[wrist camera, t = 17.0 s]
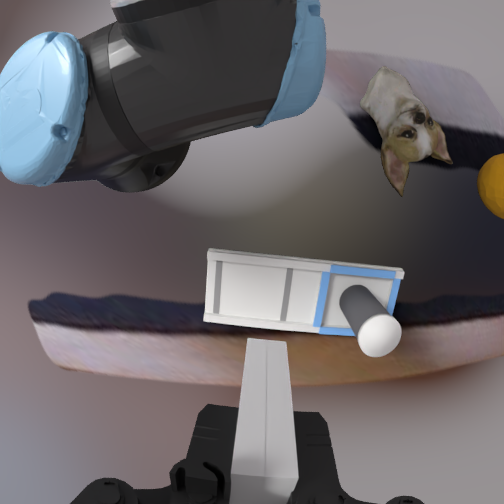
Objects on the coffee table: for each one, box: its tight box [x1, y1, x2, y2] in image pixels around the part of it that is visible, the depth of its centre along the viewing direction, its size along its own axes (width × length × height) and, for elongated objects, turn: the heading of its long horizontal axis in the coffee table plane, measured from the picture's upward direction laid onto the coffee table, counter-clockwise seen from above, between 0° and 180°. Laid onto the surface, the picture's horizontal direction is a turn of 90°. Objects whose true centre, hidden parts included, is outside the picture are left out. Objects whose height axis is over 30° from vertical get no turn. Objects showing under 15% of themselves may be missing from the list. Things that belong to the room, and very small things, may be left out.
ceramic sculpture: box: [360, 66, 453, 197], centre depth 32 cm, size 11×9×15 cm
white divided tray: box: [204, 248, 404, 336], centre depth 40 cm, size 10×26×2 cm, turn 85°
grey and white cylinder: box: [339, 285, 402, 357], centre depth 35 cm, size 5×5×11 cm
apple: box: [477, 154, 504, 219], centre depth 32 cm, size 9×9×9 cm
